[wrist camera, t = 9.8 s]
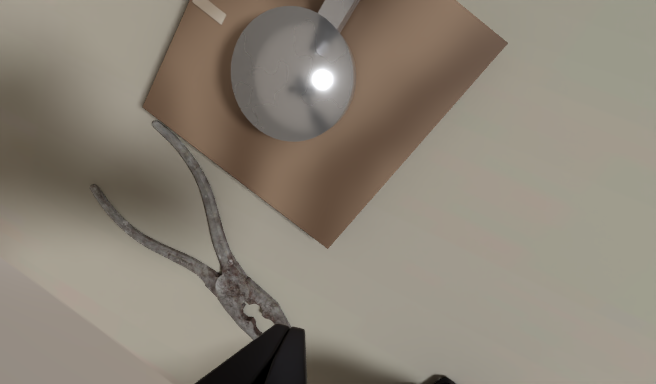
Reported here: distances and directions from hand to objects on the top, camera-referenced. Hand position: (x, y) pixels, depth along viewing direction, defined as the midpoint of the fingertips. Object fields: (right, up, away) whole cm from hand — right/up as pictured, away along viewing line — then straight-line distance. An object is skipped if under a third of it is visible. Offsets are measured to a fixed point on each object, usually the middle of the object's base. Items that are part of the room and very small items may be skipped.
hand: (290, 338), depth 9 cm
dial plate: (0, +11, +10) cm, 15 cm away
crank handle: (+1, +12, +8) cm, 14 cm away
